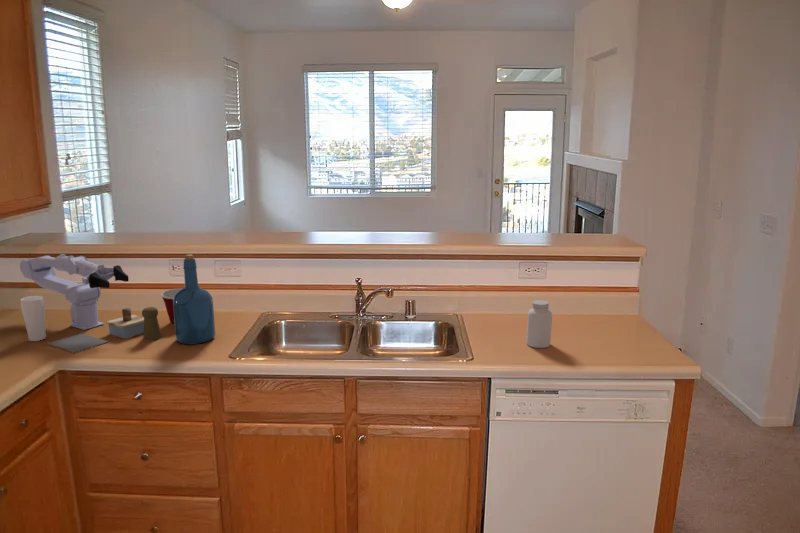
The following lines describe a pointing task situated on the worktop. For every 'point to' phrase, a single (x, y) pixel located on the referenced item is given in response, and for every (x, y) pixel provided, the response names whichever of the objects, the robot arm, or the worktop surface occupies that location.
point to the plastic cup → (170, 302)
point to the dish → (127, 330)
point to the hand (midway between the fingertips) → (118, 281)
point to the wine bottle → (193, 309)
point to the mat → (77, 342)
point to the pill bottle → (539, 325)
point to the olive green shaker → (151, 324)
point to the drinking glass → (34, 317)
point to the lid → (126, 319)
